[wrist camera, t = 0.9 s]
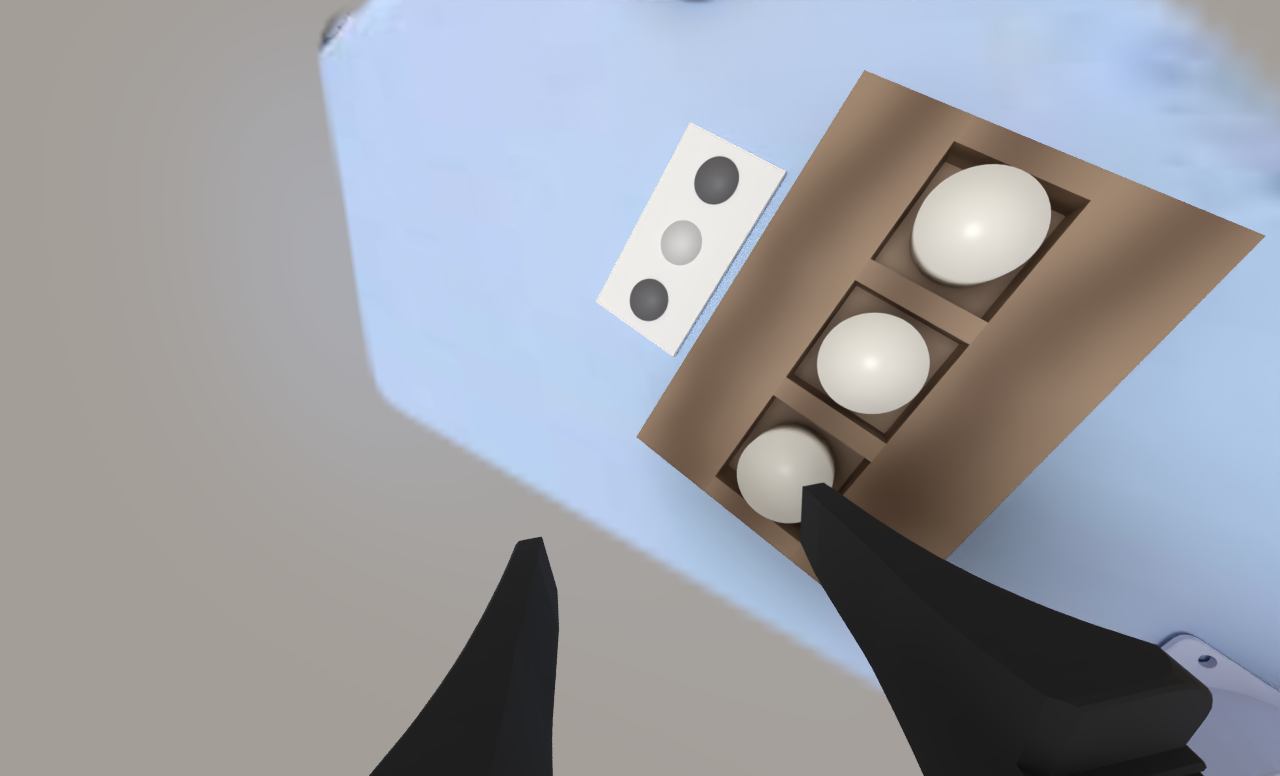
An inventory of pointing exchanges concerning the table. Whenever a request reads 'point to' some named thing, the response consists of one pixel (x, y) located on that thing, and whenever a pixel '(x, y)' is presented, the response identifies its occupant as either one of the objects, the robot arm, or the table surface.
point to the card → (688, 236)
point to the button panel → (934, 321)
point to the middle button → (873, 363)
